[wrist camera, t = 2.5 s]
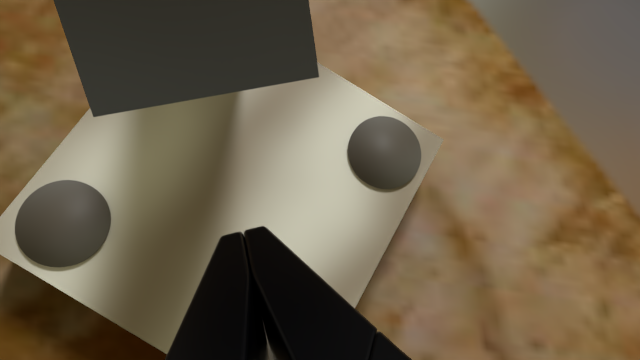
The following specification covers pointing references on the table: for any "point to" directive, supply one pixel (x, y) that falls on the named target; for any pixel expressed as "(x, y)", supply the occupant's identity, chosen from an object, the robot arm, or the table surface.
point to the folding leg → (184, 48)
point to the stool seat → (216, 195)
